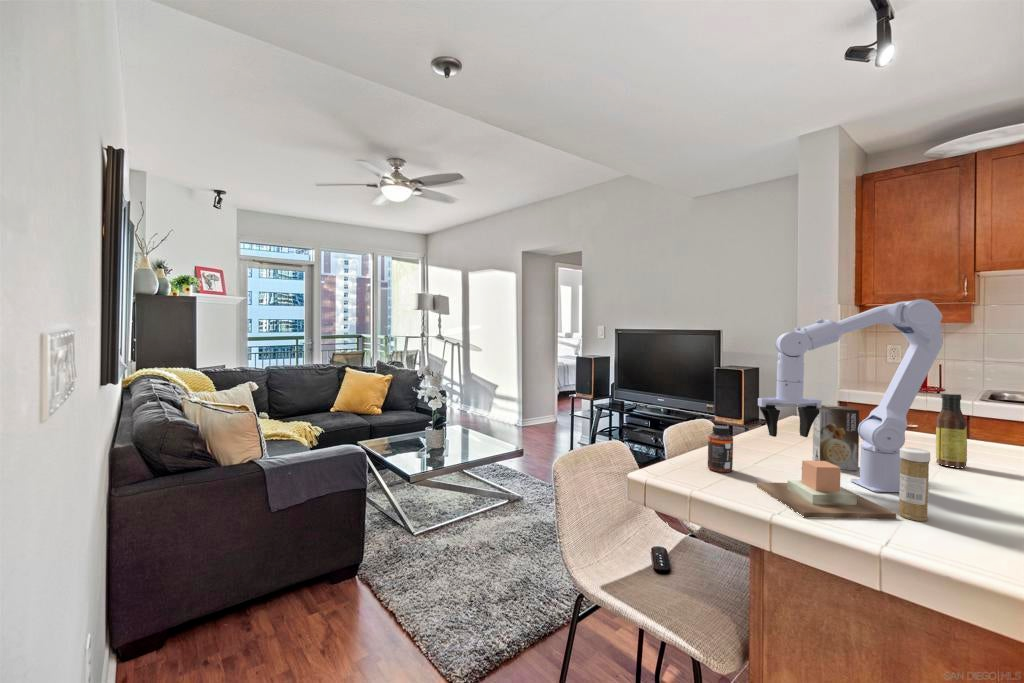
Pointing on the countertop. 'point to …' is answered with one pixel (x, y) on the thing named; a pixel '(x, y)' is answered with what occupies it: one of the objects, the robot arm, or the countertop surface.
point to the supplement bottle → (720, 449)
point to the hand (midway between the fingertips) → (788, 436)
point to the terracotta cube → (821, 475)
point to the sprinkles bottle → (914, 483)
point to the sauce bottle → (951, 432)
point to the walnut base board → (826, 509)
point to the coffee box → (837, 436)
